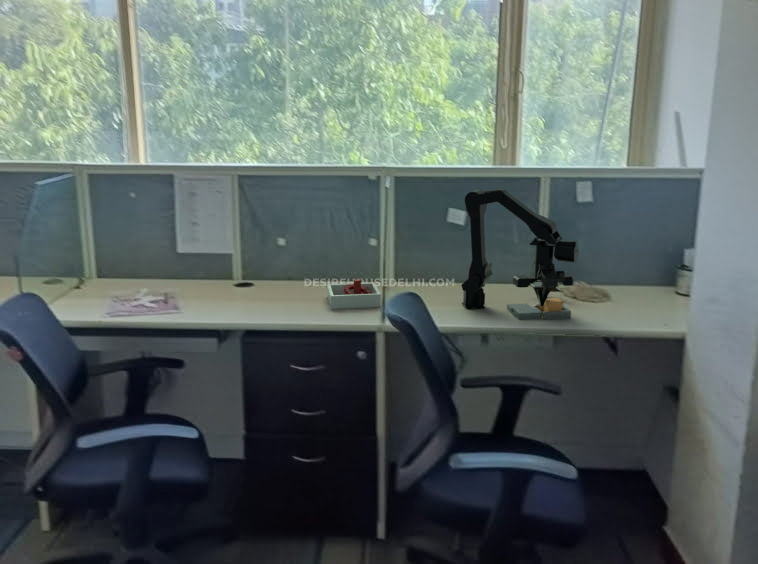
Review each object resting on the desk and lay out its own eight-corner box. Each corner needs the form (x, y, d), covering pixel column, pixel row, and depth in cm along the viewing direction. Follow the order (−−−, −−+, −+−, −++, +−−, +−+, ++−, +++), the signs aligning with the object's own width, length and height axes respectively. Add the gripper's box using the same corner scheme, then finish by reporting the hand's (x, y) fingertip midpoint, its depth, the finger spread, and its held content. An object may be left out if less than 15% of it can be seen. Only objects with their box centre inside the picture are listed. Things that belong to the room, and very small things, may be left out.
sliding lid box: (520, 320, 236) (520, 313, 235) (511, 312, 244) (511, 305, 244) (570, 318, 238) (571, 311, 237) (560, 310, 247) (560, 303, 246)
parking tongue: (511, 312, 244) (511, 308, 244) (506, 308, 249) (506, 304, 249) (531, 311, 245) (531, 307, 245) (526, 307, 250) (526, 303, 250)
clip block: (549, 301, 238) (562, 301, 239) (544, 298, 242) (558, 298, 242) (548, 316, 239) (561, 316, 240) (544, 313, 243) (557, 312, 244)
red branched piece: (368, 307, 251) (368, 284, 249) (338, 303, 256) (337, 280, 254) (382, 300, 260) (382, 277, 258) (353, 296, 266) (352, 273, 263)
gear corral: (331, 308, 249) (330, 296, 248) (327, 296, 265) (327, 284, 263) (380, 306, 252) (380, 294, 250) (374, 294, 267) (374, 282, 266)
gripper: (524, 265, 228) (522, 314, 231) (581, 263, 230) (578, 311, 234) (513, 258, 238) (511, 304, 242) (568, 256, 241) (565, 302, 245)
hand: (541, 305), depth 240 cm, fingers closed
